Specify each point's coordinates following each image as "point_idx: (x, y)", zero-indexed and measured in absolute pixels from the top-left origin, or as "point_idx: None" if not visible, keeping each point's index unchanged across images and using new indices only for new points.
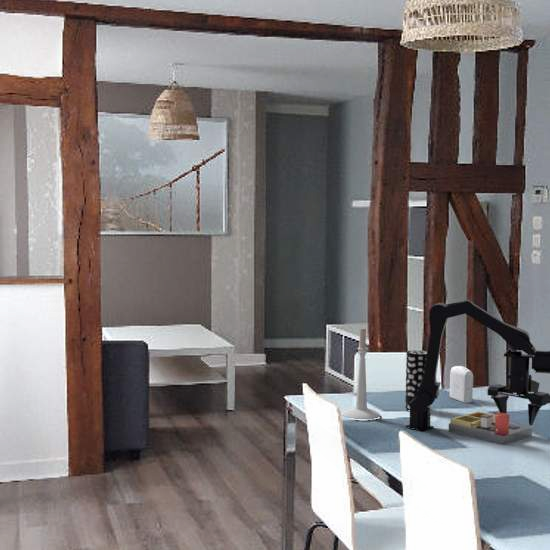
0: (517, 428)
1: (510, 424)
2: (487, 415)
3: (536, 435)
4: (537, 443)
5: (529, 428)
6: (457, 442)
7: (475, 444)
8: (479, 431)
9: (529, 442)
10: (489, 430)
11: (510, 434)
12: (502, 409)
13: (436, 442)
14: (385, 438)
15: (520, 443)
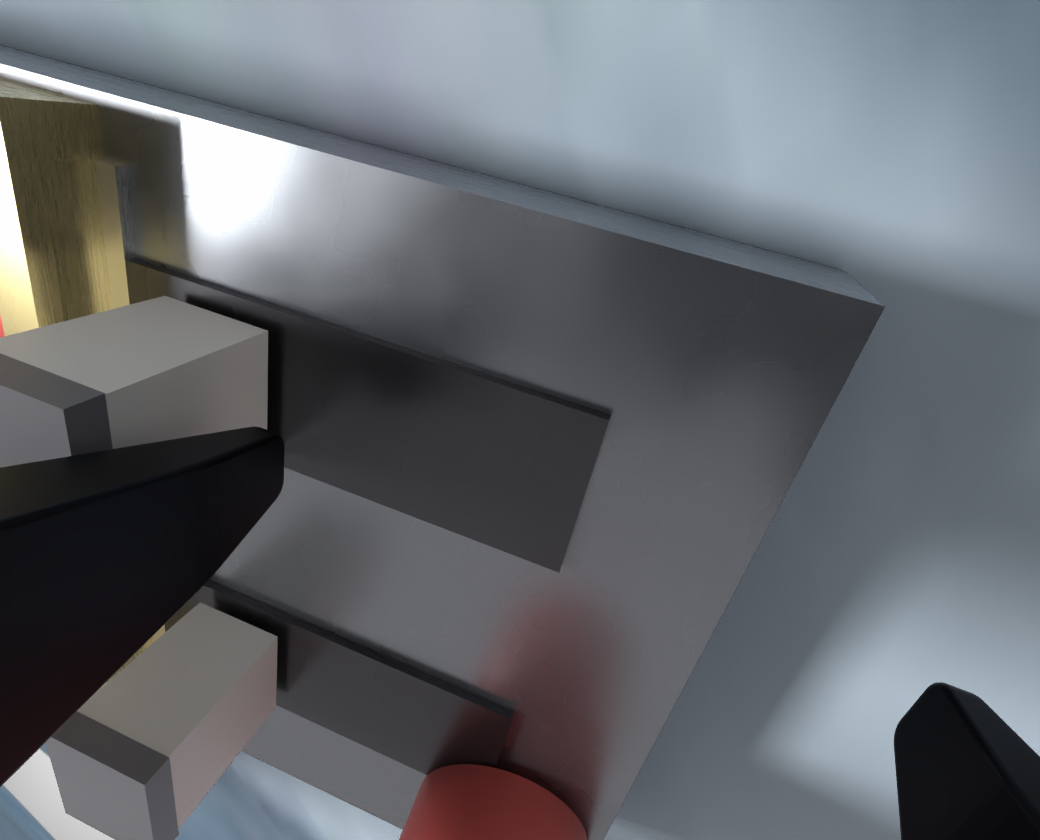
0: (598, 511)
1: (387, 282)
2: (110, 798)
3: (940, 163)
4: (993, 671)
5: (829, 406)
6: (274, 812)
7: (392, 835)
8: (282, 760)
9: (858, 658)
10: (340, 737)
11: (609, 822)
12: (58, 692)
13: (193, 834)
14: (4, 812)
15: (746, 728)
